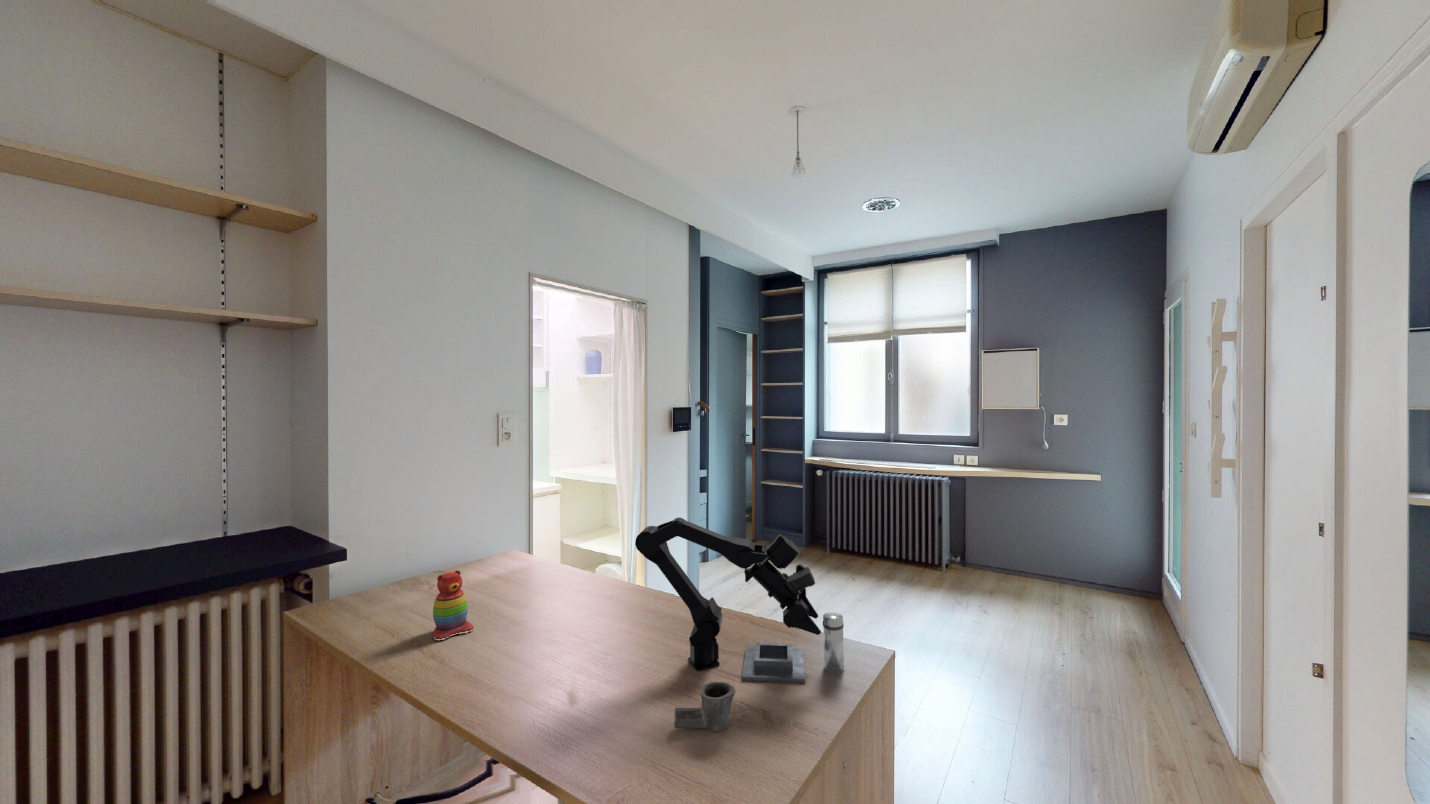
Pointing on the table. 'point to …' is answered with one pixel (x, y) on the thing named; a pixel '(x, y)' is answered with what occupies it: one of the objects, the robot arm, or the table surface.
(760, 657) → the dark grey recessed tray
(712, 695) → the pipe
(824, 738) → the table surface
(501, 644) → the table surface
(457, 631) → the stacking bear
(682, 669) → the table surface
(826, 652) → the silver banded cylinder
